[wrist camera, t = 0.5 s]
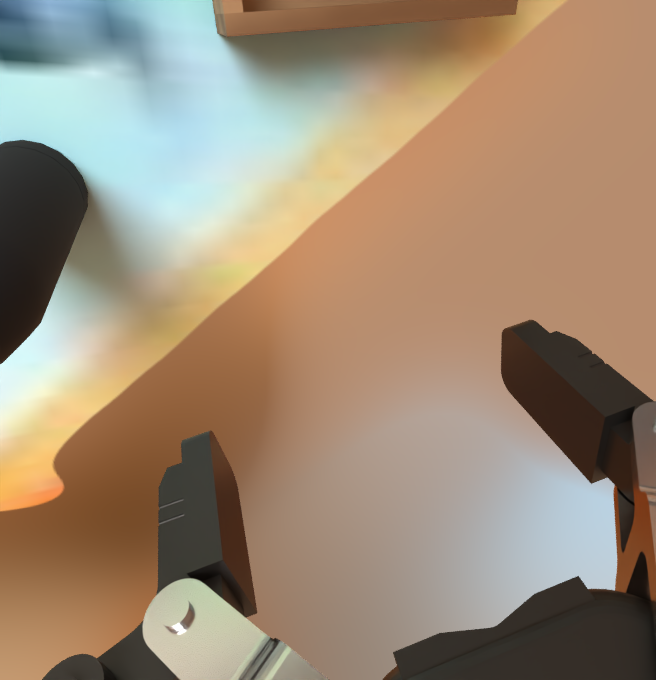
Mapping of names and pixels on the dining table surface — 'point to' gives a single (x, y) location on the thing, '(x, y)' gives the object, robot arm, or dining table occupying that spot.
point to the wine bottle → (34, 233)
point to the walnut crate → (343, 13)
